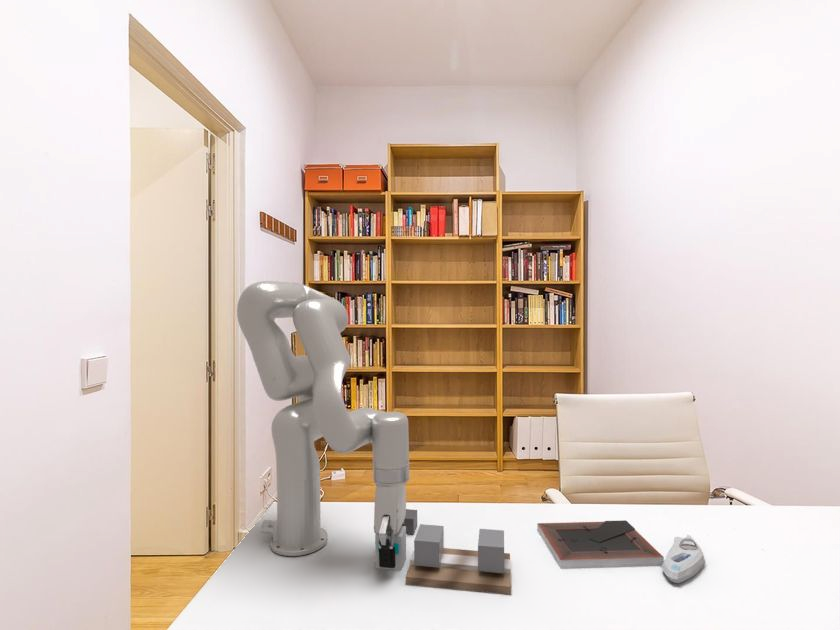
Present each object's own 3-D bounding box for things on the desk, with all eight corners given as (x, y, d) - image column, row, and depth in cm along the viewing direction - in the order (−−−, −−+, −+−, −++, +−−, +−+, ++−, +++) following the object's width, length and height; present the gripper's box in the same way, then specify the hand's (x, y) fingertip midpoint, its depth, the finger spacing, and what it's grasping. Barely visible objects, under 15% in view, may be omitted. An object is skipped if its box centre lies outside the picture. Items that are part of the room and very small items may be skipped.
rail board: (405, 584, 93) (405, 571, 93) (416, 552, 105) (416, 541, 105) (511, 594, 90) (511, 581, 90) (509, 560, 101) (509, 548, 101)
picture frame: (626, 530, 116) (537, 532, 115) (626, 520, 116) (537, 522, 115) (663, 568, 99) (560, 571, 98) (663, 556, 99) (560, 559, 98)
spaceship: (696, 595, 90) (696, 572, 90) (657, 584, 94) (657, 561, 93) (709, 544, 109) (709, 524, 108) (676, 536, 112) (676, 517, 112)
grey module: (375, 569, 99) (374, 535, 98) (381, 556, 103) (380, 524, 103) (401, 571, 98) (401, 537, 97) (406, 558, 102) (406, 526, 102)
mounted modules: (414, 565, 95) (414, 540, 95) (420, 547, 102) (420, 524, 102) (504, 573, 92) (504, 547, 92) (504, 554, 99) (504, 530, 99)
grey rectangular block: (396, 534, 113) (396, 517, 113) (401, 524, 118) (401, 508, 118) (413, 536, 113) (413, 519, 112) (417, 526, 117) (417, 509, 117)
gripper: (383, 458, 109) (385, 533, 110) (361, 487, 92) (363, 576, 93) (416, 460, 108) (417, 535, 108) (400, 489, 91) (402, 579, 91)
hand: (392, 554), depth 100 cm, fingers open, 9 cm apart
